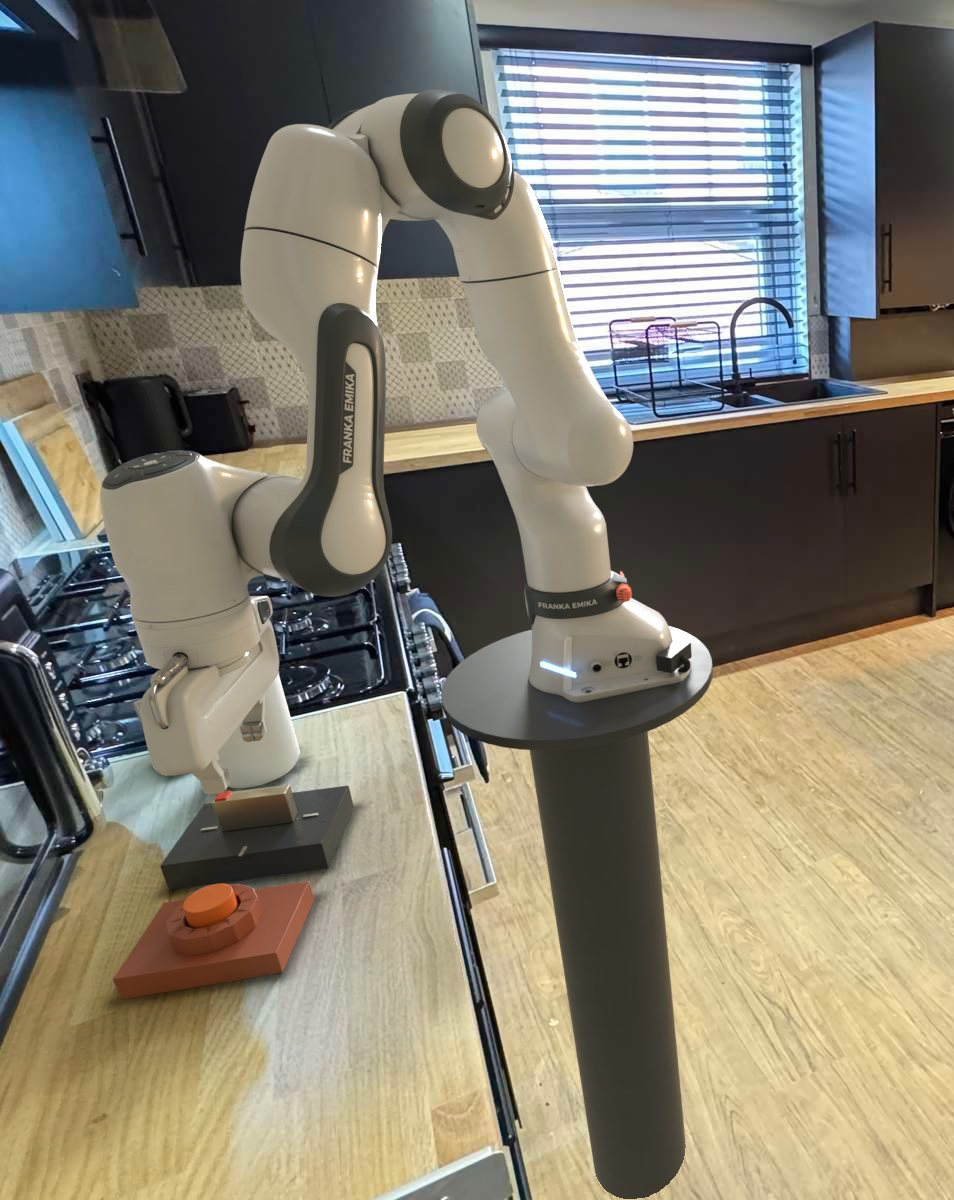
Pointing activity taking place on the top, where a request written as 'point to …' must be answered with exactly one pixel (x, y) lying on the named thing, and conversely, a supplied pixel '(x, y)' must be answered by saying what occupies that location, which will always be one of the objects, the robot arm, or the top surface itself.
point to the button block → (217, 942)
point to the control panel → (260, 843)
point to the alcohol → (263, 746)
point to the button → (210, 905)
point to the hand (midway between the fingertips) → (238, 762)
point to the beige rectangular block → (255, 807)
